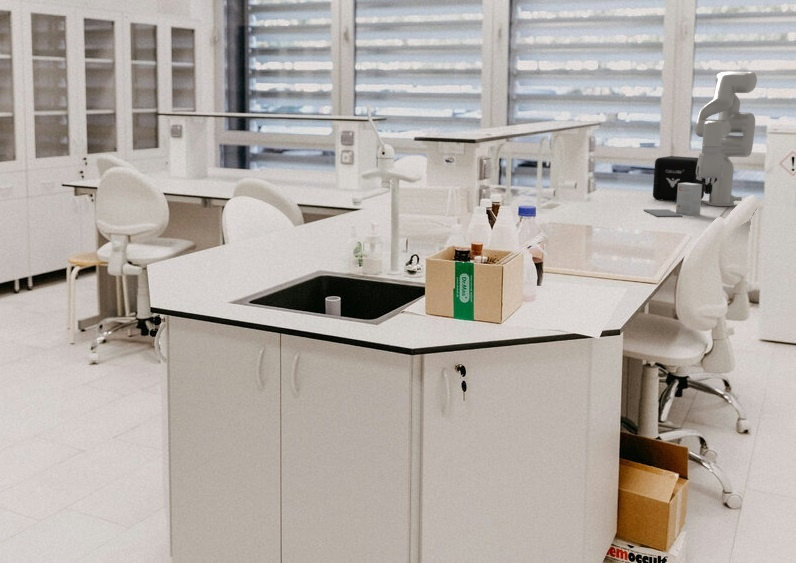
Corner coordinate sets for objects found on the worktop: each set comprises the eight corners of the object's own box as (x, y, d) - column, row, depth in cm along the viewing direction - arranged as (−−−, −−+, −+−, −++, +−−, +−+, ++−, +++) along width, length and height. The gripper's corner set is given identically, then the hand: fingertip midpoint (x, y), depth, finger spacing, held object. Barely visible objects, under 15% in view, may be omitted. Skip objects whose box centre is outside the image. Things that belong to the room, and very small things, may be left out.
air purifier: (650, 199, 438) (653, 157, 434) (663, 196, 449) (666, 155, 445) (691, 203, 425) (694, 160, 421) (703, 200, 436) (706, 158, 432)
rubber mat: (668, 210, 401) (668, 209, 401) (682, 216, 384) (682, 215, 384) (643, 210, 401) (643, 209, 401) (656, 217, 383) (656, 215, 383)
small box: (700, 214, 392) (702, 184, 389) (691, 215, 388) (693, 185, 385) (684, 212, 398) (686, 182, 395) (675, 213, 394) (677, 183, 391)
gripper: (725, 149, 391) (721, 192, 395) (690, 149, 391) (687, 192, 395) (732, 151, 384) (728, 194, 388) (697, 151, 383) (693, 194, 387)
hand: (707, 193), depth 391 cm, fingers closed
